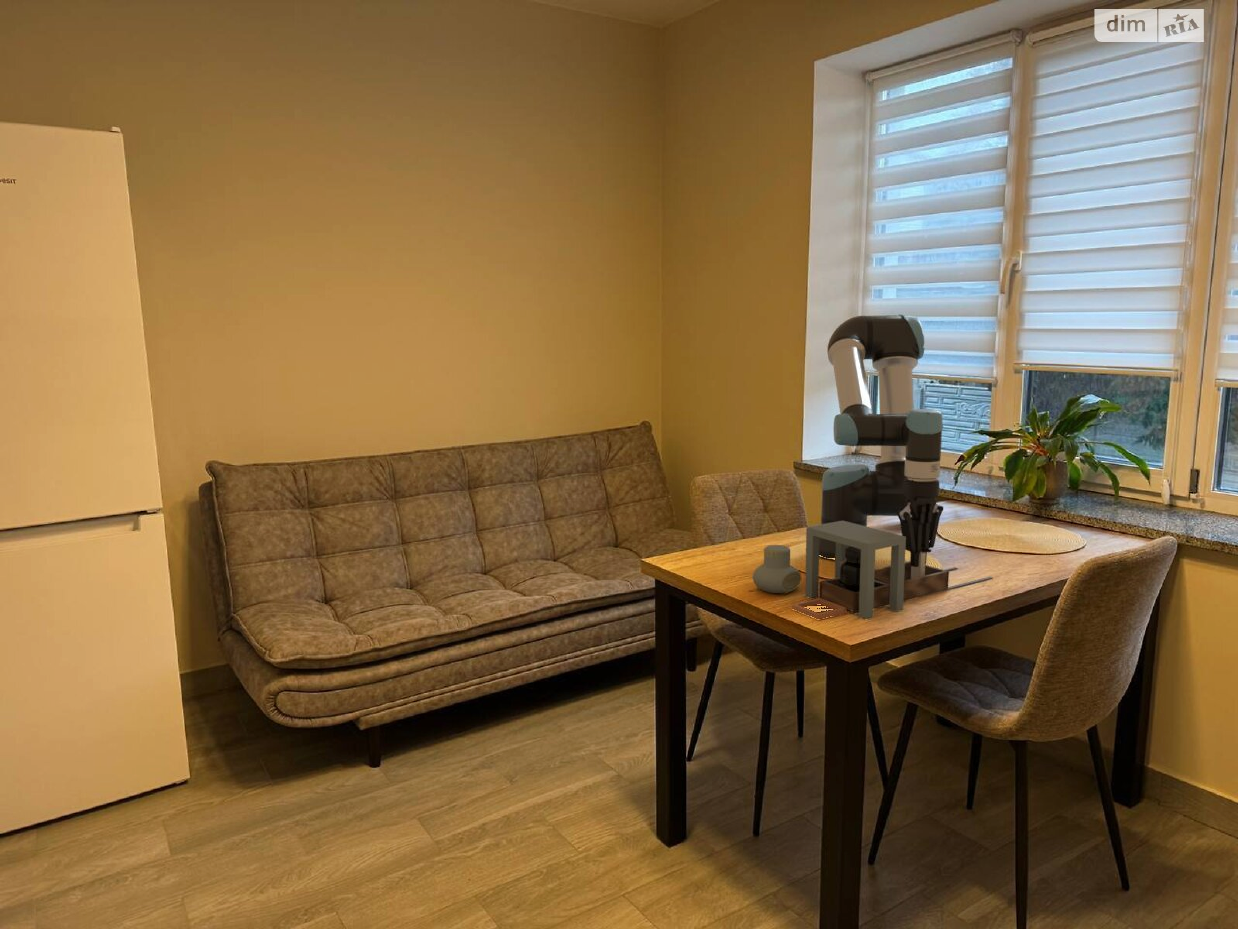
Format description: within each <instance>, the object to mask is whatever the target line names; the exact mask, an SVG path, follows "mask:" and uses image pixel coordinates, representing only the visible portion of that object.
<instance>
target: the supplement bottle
mask: <svg viewBox="0 0 1238 929" xmlns="http://www.w3.org/2000/svg"><path fill="white" fill-rule="evenodd" d="M844 557H845V558H846V559H845V560H843V561H842V562H841V563H840V568H839V587H842V588H845V589H848V590H851V591H854V592H859V591H860V565H861V549H858V548H855V547H849V548H846V549H845V555H844Z"/></svg>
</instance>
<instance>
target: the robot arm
mask: <svg viewBox="0 0 1238 929" xmlns="http://www.w3.org/2000/svg"><path fill="white" fill-rule="evenodd" d="M924 354H925V334H924V330H923V326H922V323H921V321H920V320H919V318H918V317H917V316H915V315H905V314H897V315H896V314H895V315H894V314H893V315H892V314H891V315H889V314H888V315H887V314H886V315H856V316H853V317H851V318H849V319H847V320H844V322H842V323H841V324H840V325H838V327H837V328H836V329H835V330H834V331H833V333H832V334H831V336H830V338H829V341H828V343H827V357H828V361H829V363H830V365H832V366H833V370H834V372H833V373H834V378H835V386H836V391H837V399H838V405H839V406H838V407H839V414H836V415H835V416H834V420H833V440H834V443H835V444H836V445H838V446H846V447H847V446H848V447H880V459H879V460H878V461H877V462H876V463H875V464H874V465H875V466H874V467H875V470H870V468H869V465H867V464H861V463H860V464H853V463H852V464H844V465H839V466H834V467H830V468H827V469H826V470H825V471H824V472H823V474H822V479H821V480H822V481H821V486H820V490H821V510H820V511H821V512H820V513H821V514H820V518H821V519H820V525H821V524H826V523H832V522H837V521H846V522H850V523H854V524H858V525H862V526H866V527H868V516H872V517H874V516H875V517H877V516H878V517H879V516H880V517H898V519H899V523H900V531H901V536H905V537H906V547H905V551H908V552H910V560H909V561H910V565H911V579H913V578H917V577H921V576H925V565H927V556H928V554H927V553H931V552H932V548H934V547H935V544H936V538H937V534H938V530H939V529H938V528H939V524H940V521H941V520H940V519H941V515H942V513H943V511H944V506H943V505H939V504H938V503H937V499H936V498H937V497H939V495H940V480H939V478H940V476H941V475H940V472H941V471H940V470H941V469H940V468H941V458H942V457H941V452H942V435H943V429H944V425H943V414H942V411H940V410H937V409H931V408H930V409H929V408H916V409H915V408H914V384H913V383H914V380H913V369H915V367H917V366H918V364H919V360H920V359H922V358H923V357H924ZM864 360H871V361H872V362H871V363H872V365H871V366H872V368H873V369H874V370H876V371H877V373H878V395H879V413H874V412H873V407H872V401H871V396H870V391H869V390H870V389H869V386H868V381H867V375H866V370H865V363H864ZM849 547H851V546H849ZM835 551H836V542H834V541H830V540H827V539H823V538H820V537H819V555H821V556H823V557H826V558H835Z"/></svg>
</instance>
